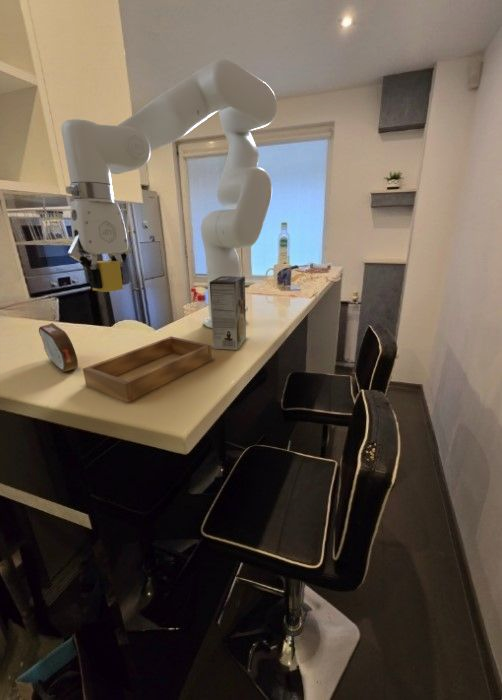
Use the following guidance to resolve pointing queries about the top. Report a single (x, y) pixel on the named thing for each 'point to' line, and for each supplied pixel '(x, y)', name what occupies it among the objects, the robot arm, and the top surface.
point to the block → (109, 276)
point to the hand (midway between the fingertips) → (107, 285)
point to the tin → (58, 347)
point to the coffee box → (228, 312)
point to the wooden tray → (105, 371)
